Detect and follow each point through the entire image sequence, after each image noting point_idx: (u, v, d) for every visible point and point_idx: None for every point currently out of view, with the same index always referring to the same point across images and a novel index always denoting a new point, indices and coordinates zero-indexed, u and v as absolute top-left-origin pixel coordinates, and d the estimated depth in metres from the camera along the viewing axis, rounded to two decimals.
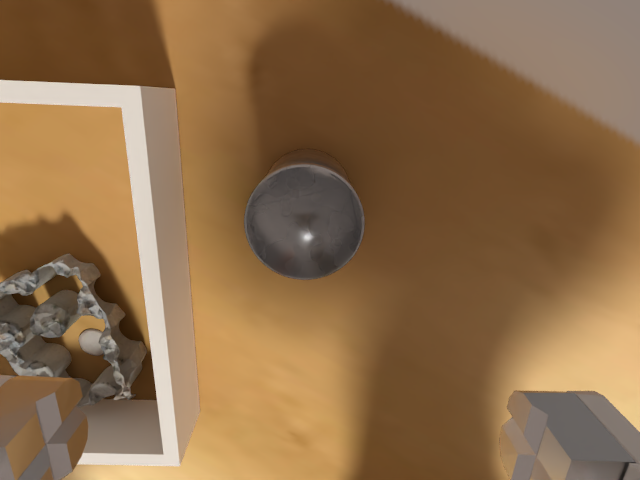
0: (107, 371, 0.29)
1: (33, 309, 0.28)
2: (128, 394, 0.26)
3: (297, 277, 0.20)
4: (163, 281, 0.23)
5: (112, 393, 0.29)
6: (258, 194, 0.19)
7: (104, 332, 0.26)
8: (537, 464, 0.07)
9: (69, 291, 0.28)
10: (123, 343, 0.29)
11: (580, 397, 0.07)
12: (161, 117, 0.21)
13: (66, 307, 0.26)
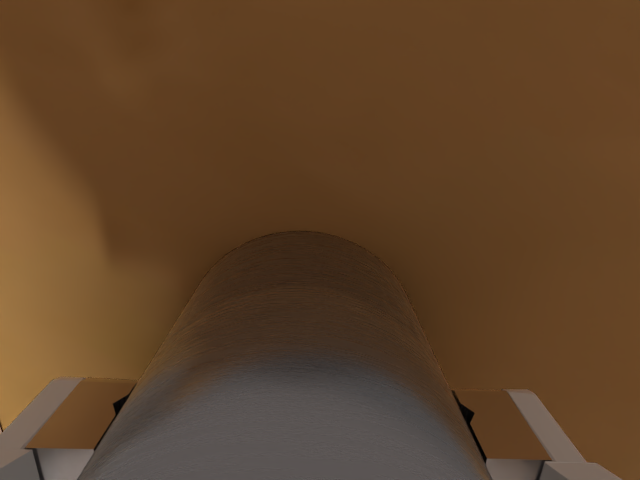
0: None
1: None
2: None
3: None
4: None
5: None
6: None
7: None
8: None
9: None
10: None
11: (512, 395, 0.07)
12: None
13: None
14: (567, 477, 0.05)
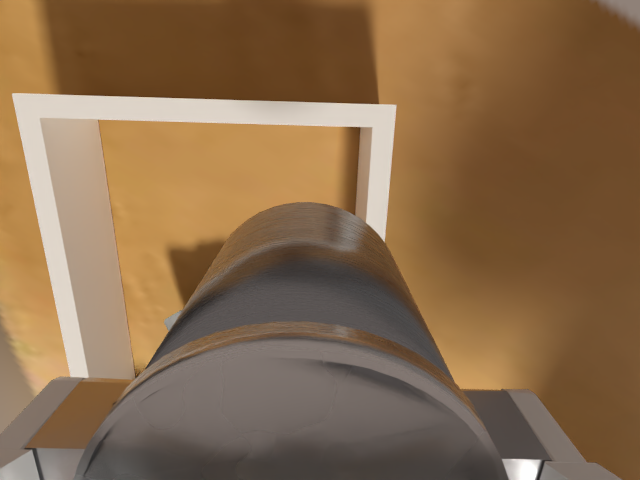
0: None
1: None
2: None
3: None
4: None
5: None
6: (115, 446, 0.05)
7: None
8: None
9: None
10: None
11: (512, 395, 0.07)
12: None
13: None
14: (566, 477, 0.05)
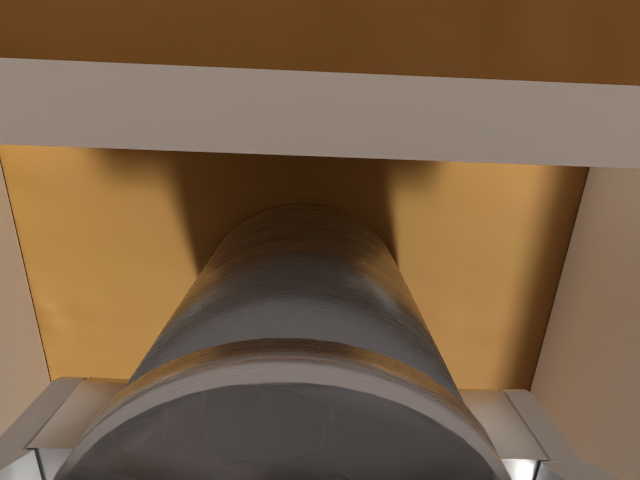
0: None
1: None
2: None
3: None
4: None
5: None
6: (86, 477, 0.04)
7: None
8: None
9: None
10: None
11: (509, 394, 0.07)
12: None
13: None
14: (562, 477, 0.05)
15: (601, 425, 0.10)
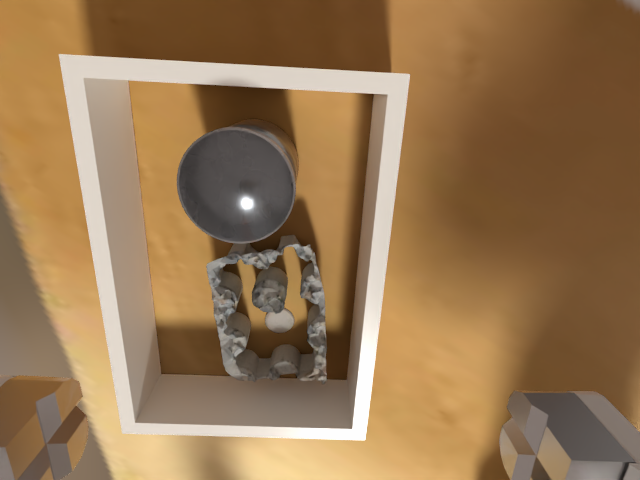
0: (285, 350, 0.30)
1: (238, 278, 0.29)
2: (324, 379, 0.28)
3: (230, 240, 0.20)
4: (385, 263, 0.24)
5: (290, 372, 0.30)
6: (190, 156, 0.19)
7: (319, 318, 0.27)
8: (537, 464, 0.07)
9: (279, 269, 0.29)
10: None
11: (581, 397, 0.07)
12: None
13: (285, 286, 0.27)
14: None
15: (369, 206, 0.24)
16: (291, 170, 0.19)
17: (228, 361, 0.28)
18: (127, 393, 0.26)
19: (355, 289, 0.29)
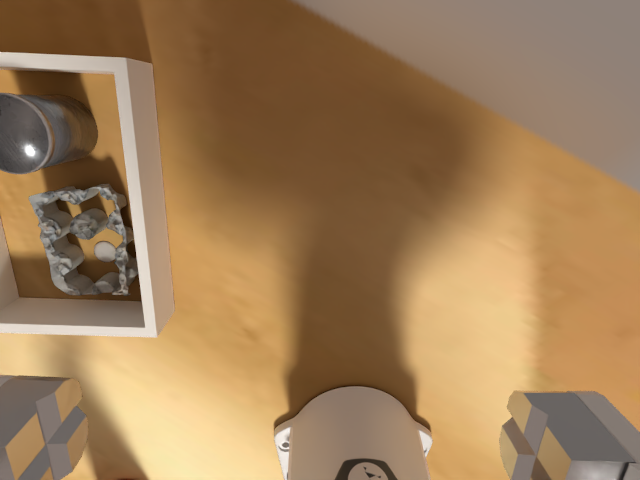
0: (109, 275, 0.40)
1: (69, 216, 0.38)
2: (126, 292, 0.37)
3: (11, 172, 0.30)
4: (143, 194, 0.33)
5: (110, 291, 0.39)
6: None
7: (121, 244, 0.37)
8: (537, 464, 0.07)
9: (100, 210, 0.38)
10: (127, 257, 0.39)
11: (581, 397, 0.07)
12: (141, 81, 0.32)
13: (97, 220, 0.37)
14: None
15: None
16: (44, 121, 0.29)
17: (55, 276, 0.37)
18: None
19: None
